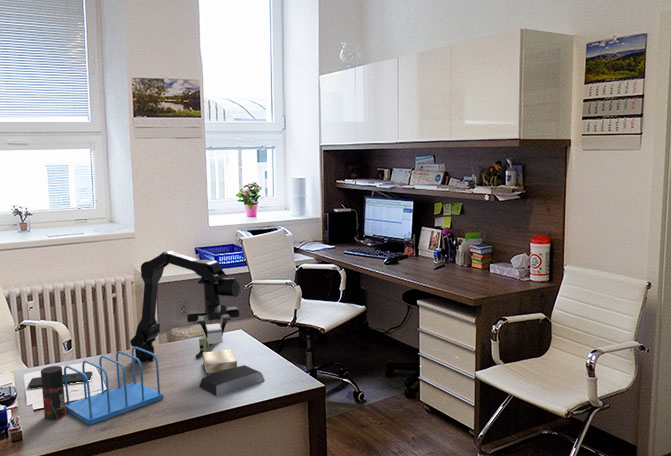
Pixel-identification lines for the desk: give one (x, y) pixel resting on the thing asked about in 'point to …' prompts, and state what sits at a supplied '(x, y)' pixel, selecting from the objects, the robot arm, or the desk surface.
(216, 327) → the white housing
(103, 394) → the file sorter
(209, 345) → the handheld radio
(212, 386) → the external hard drive
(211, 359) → the cream rectangular block
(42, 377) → the deodorant
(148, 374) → the desk surface
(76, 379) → the smart home device
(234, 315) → the robot arm
